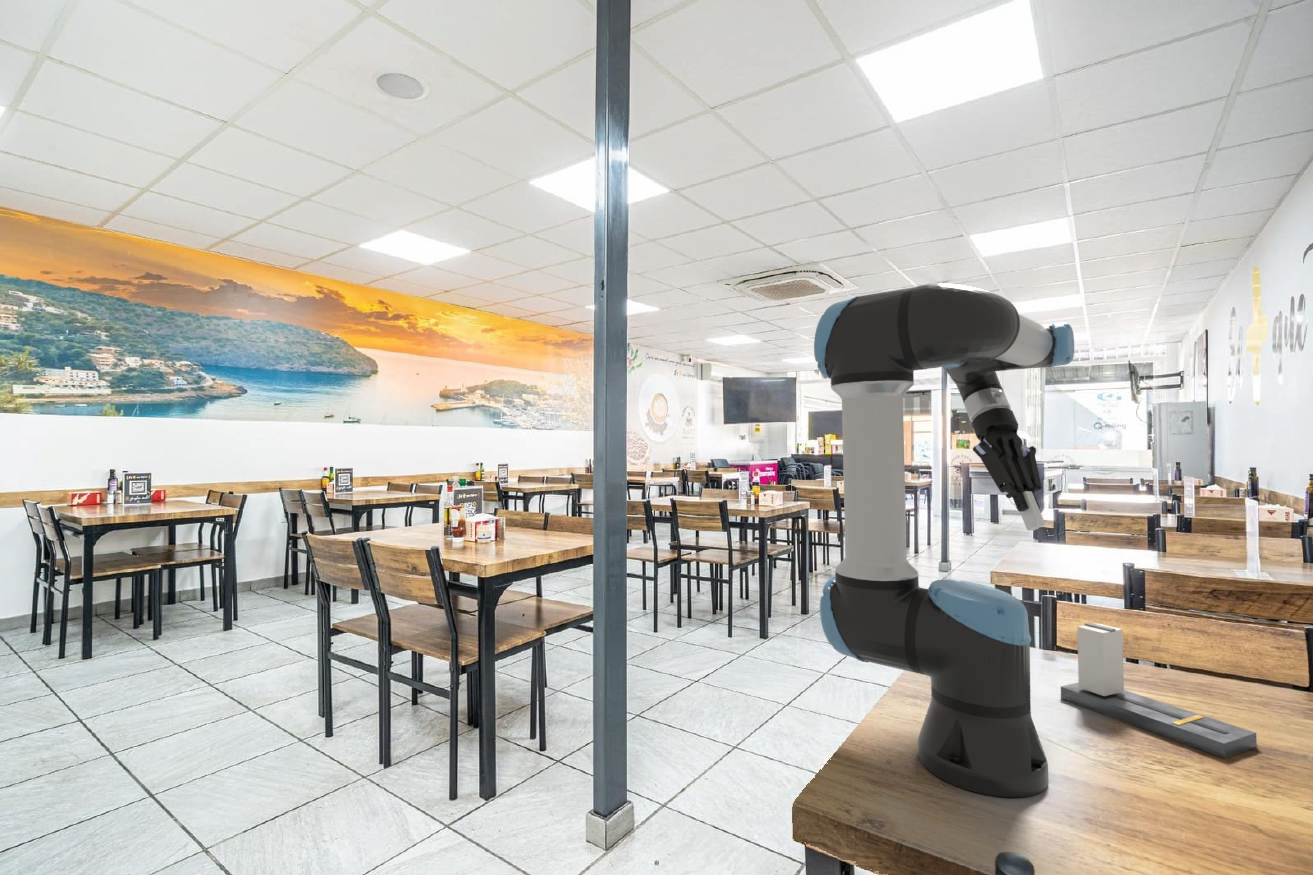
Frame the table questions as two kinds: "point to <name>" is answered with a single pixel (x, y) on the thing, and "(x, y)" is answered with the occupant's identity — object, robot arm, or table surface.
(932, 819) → the table surface
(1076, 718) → the table surface
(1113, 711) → the grey slotted track base
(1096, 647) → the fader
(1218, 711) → the table surface
